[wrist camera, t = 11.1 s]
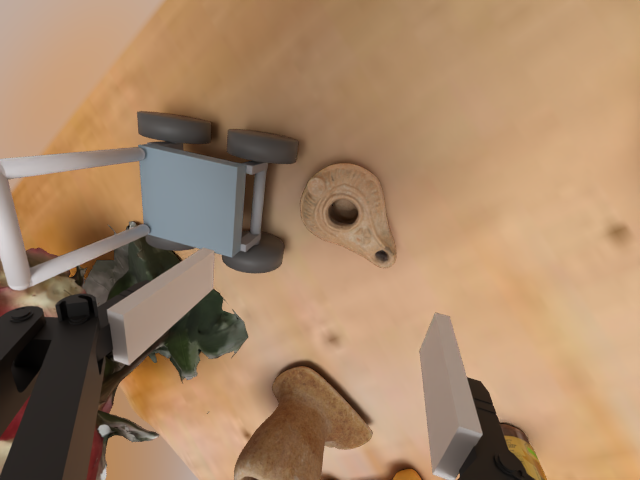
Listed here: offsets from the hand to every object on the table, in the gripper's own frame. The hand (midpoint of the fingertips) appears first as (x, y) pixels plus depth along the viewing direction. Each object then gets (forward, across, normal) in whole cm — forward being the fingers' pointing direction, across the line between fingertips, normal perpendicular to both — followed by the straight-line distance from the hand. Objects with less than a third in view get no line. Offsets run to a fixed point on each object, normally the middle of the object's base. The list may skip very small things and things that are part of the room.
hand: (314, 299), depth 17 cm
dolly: (+19, -15, 0) cm, 24 cm away
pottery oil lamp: (+19, 0, 0) cm, 19 cm away
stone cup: (+19, +1, -31) cm, 37 cm away
